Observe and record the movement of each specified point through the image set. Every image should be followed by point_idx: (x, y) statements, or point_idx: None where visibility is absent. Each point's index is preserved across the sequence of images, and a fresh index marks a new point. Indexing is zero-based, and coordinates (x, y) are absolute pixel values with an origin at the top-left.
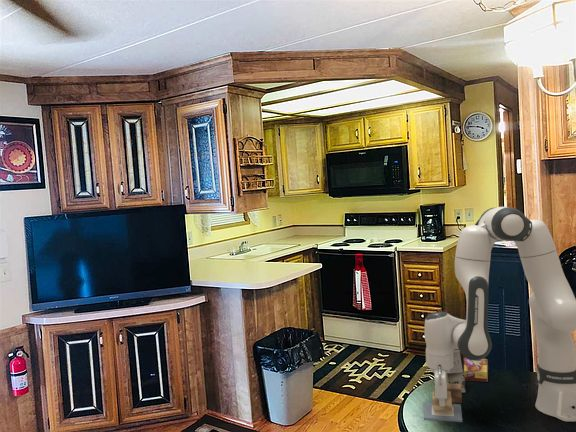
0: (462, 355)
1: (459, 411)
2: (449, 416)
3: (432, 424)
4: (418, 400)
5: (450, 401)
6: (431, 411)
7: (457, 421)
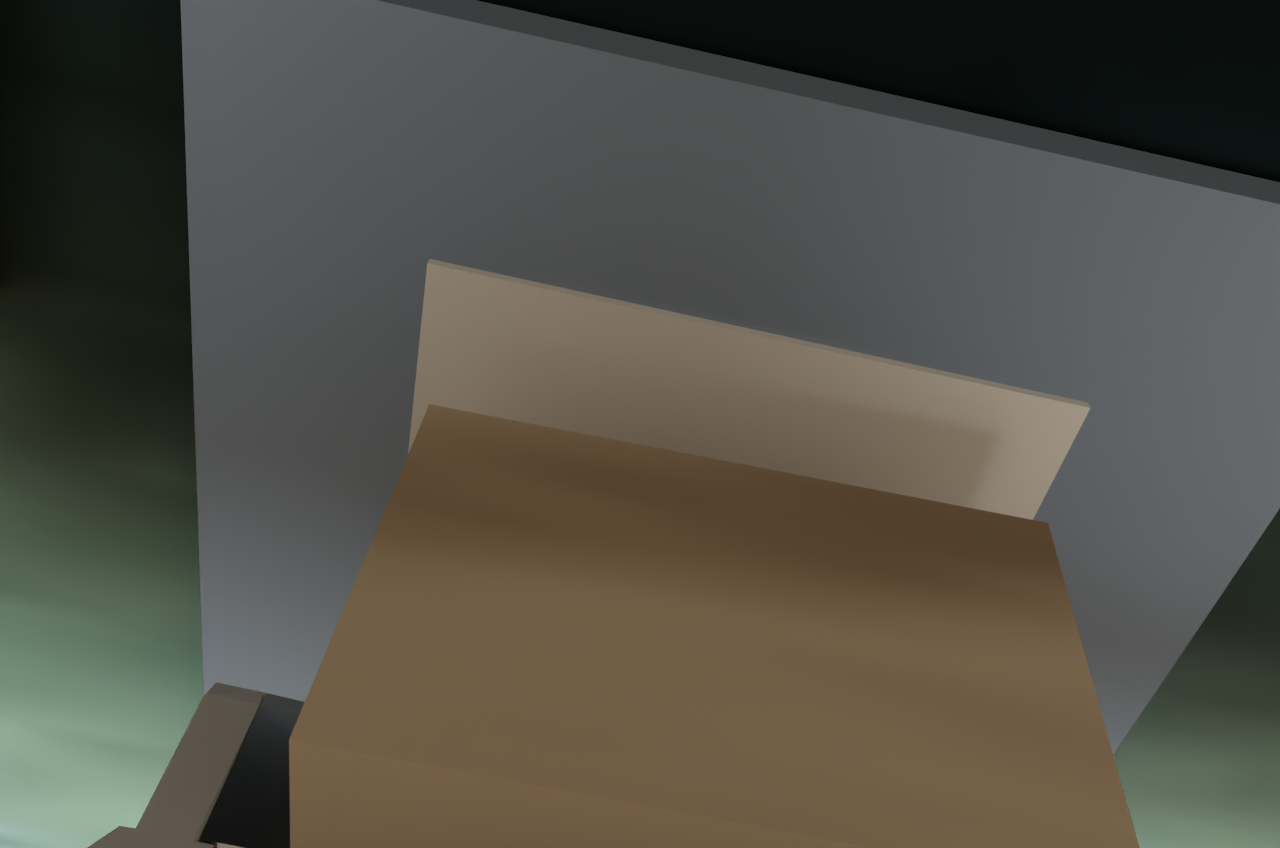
0: None
1: (778, 156)
2: (1065, 508)
3: (1250, 833)
4: (54, 799)
5: (1101, 814)
6: None
7: None
